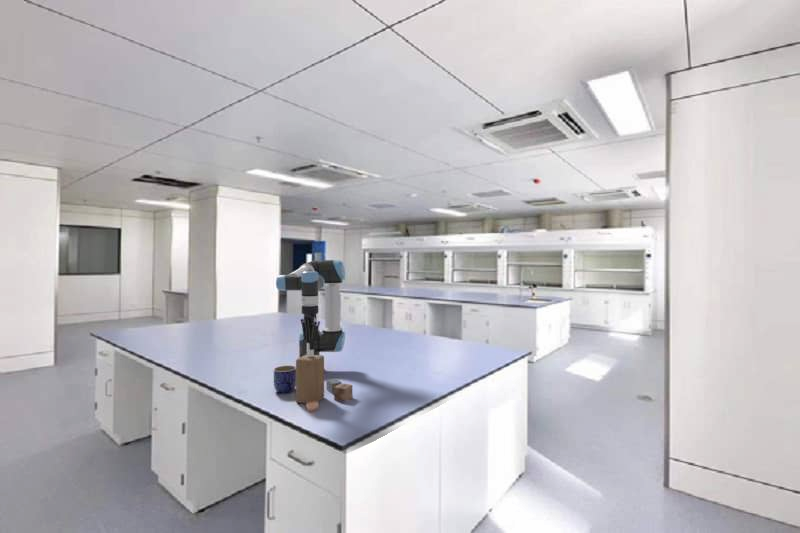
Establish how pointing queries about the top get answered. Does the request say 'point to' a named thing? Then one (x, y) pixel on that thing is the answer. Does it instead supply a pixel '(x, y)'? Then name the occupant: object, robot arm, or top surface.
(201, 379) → the top surface
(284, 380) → the planter
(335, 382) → the gray block
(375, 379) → the top surface
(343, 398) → the walnut cube
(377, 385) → the top surface
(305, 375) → the wooden block
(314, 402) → the terracotta puck
